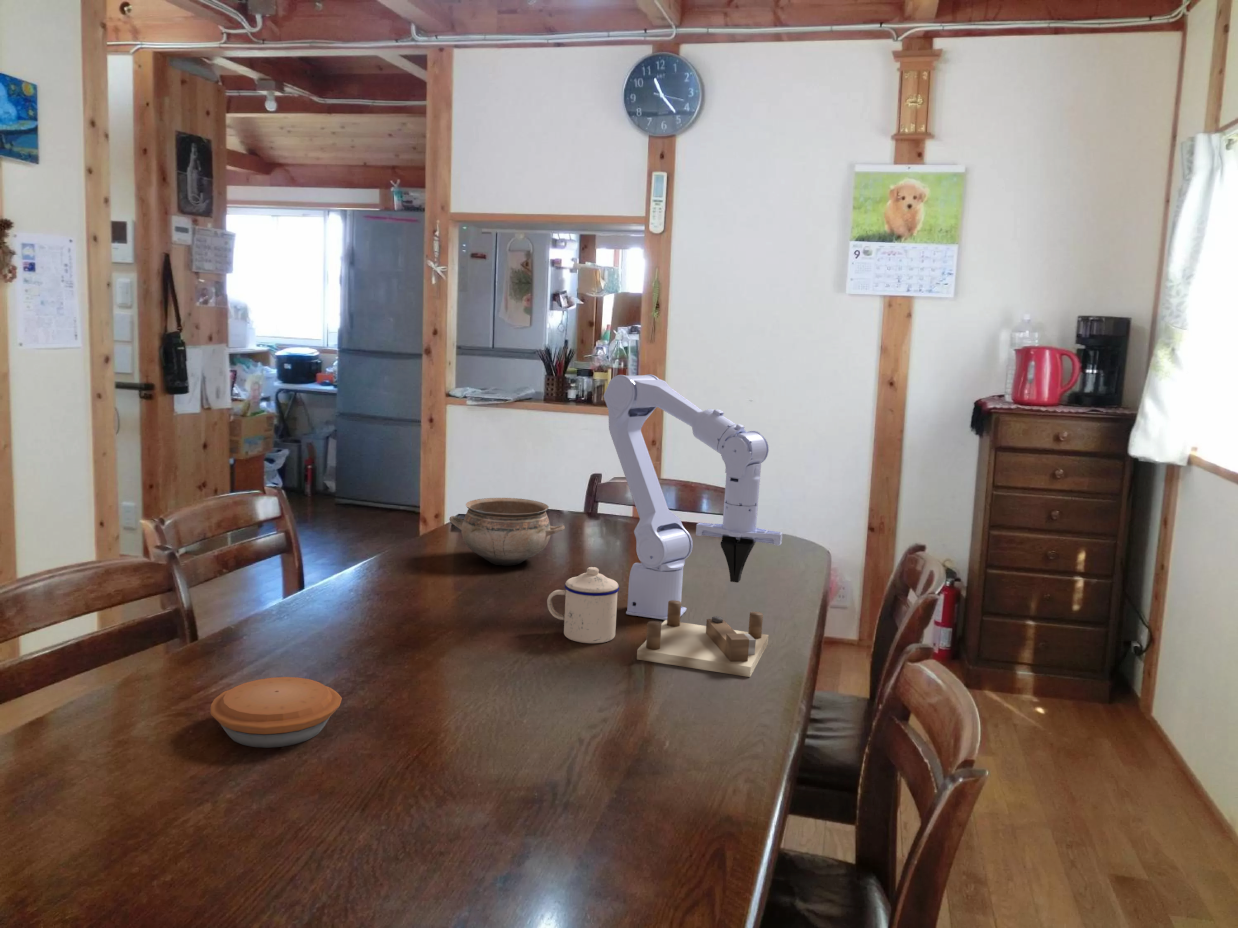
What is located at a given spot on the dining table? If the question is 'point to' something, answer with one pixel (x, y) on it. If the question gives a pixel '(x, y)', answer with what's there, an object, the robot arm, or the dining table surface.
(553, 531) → the cooking pot
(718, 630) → the folding leg
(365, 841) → the dining table surface
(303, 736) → the pie
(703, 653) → the stool seat
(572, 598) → the teacup with lid
